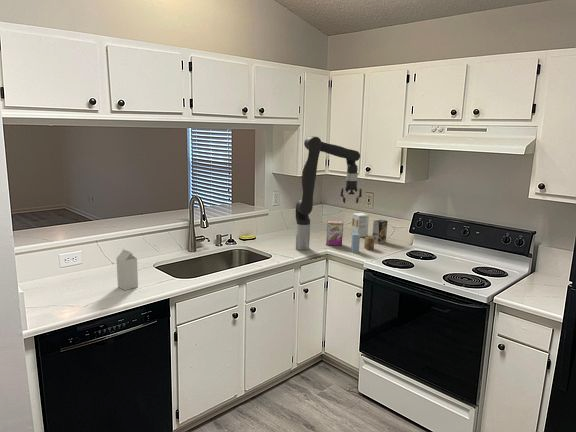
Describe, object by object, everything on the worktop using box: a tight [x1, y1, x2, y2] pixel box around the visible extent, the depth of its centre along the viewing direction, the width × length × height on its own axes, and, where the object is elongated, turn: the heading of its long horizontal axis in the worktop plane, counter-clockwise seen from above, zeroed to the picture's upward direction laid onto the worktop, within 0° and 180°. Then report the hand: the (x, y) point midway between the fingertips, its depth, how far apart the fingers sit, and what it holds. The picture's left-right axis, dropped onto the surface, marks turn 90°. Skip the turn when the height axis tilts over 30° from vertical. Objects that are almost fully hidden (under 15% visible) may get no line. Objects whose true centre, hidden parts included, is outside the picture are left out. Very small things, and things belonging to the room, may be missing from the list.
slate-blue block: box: [350, 233, 361, 254], centre depth 297 cm, size 4×4×12 cm
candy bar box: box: [325, 220, 344, 247], centre depth 313 cm, size 11×5×16 cm, turn 84°
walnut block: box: [364, 236, 375, 251], centre depth 306 cm, size 5×5×8 cm
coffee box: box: [371, 219, 388, 245], centre depth 324 cm, size 9×6×16 cm
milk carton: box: [116, 248, 139, 291], centre depth 221 cm, size 7×7×19 cm
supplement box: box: [350, 212, 370, 238], centre depth 343 cm, size 10×9×17 cm
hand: (350, 203), depth 309 cm, fingers open, 8 cm apart
